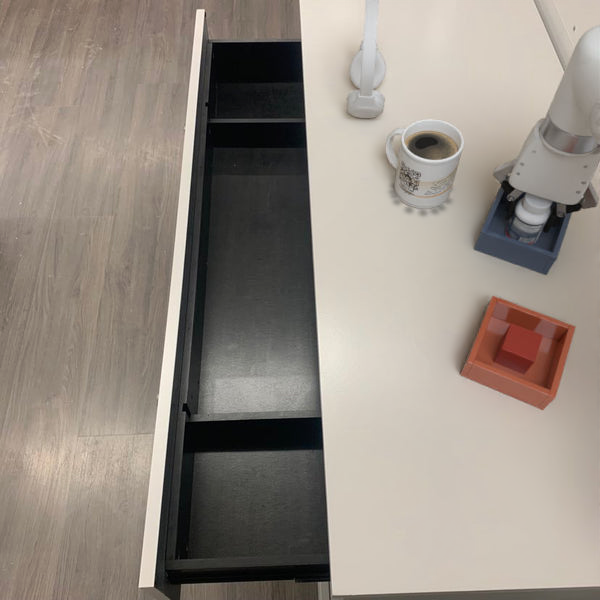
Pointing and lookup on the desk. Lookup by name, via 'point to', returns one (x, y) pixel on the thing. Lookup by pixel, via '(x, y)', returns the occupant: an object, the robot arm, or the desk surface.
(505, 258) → the slate bin
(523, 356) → the red block
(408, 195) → the mug
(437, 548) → the desk surface
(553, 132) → the robot arm
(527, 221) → the pill bottle
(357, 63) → the headphones
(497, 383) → the terracotta bin
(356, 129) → the desk surface
